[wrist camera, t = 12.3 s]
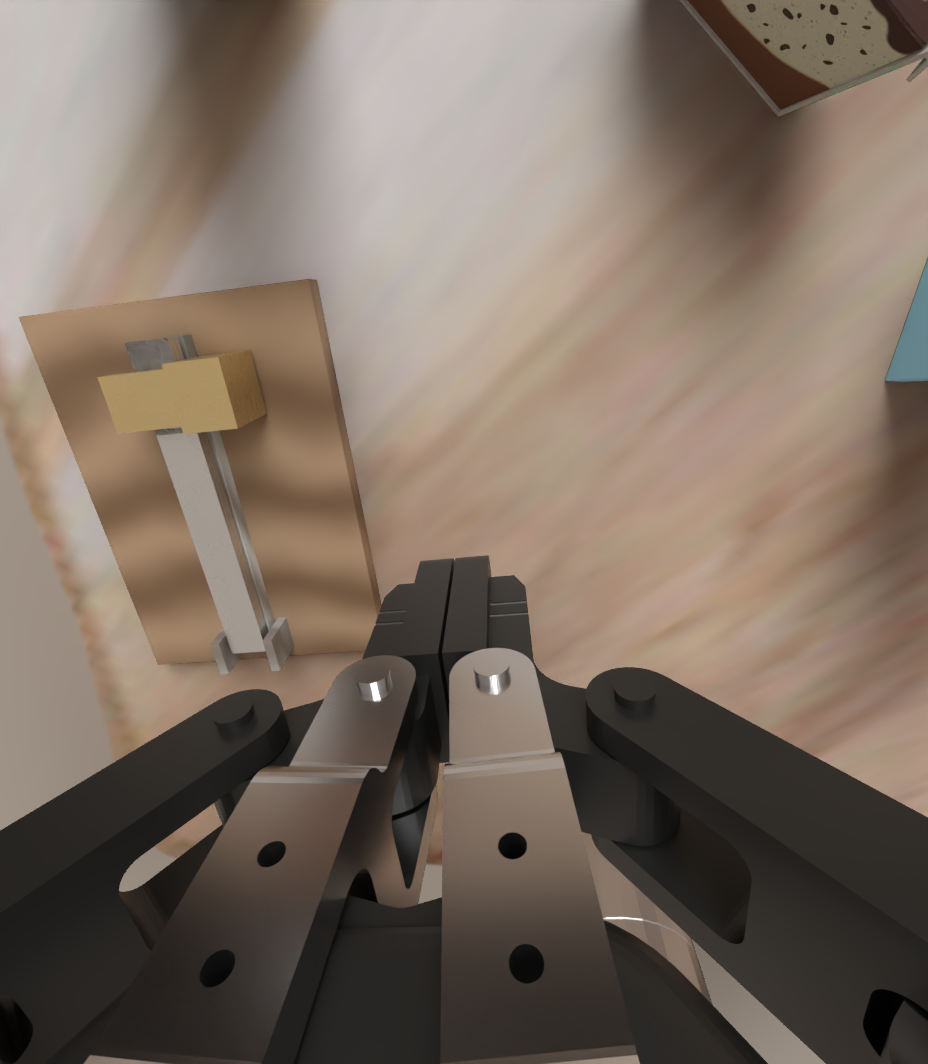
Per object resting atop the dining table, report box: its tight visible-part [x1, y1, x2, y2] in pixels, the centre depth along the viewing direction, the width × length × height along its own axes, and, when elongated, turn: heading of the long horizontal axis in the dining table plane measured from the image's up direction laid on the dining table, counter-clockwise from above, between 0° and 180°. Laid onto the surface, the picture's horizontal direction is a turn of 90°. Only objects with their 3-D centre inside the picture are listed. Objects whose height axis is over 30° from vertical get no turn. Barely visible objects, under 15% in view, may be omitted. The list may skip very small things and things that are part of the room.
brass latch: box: [97, 350, 267, 434], centre depth 30 cm, size 4×7×4 cm, turn 97°
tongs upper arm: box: [124, 336, 268, 654], centre depth 33 cm, size 20×2×1 cm, turn 6°
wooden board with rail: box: [19, 279, 381, 674], centre depth 34 cm, size 24×17×4 cm
